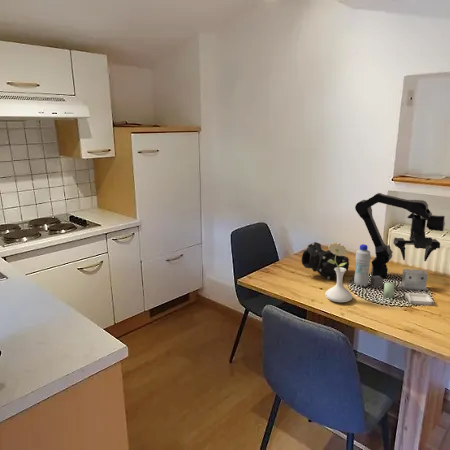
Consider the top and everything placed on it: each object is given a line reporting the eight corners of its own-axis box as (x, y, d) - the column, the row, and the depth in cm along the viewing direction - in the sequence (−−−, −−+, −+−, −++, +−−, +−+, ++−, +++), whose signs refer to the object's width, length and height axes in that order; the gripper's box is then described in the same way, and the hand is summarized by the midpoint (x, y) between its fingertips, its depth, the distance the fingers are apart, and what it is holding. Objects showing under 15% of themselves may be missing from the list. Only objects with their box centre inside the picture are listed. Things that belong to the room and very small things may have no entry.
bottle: (361, 289, 178) (364, 247, 173) (350, 284, 184) (353, 243, 179) (371, 286, 181) (375, 245, 176) (360, 281, 187) (363, 241, 182)
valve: (326, 240, 216) (358, 256, 187) (319, 265, 218) (349, 284, 190) (291, 234, 209) (318, 248, 181) (284, 260, 212) (310, 278, 183)
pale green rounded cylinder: (384, 298, 169) (385, 285, 167) (382, 294, 172) (383, 282, 171) (394, 299, 168) (395, 286, 166) (392, 295, 172) (393, 282, 170)
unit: (402, 289, 177) (404, 273, 175) (399, 284, 182) (401, 268, 180) (427, 291, 175) (429, 274, 173) (423, 286, 180) (425, 269, 178)
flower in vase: (358, 300, 167) (362, 245, 161) (339, 307, 161) (343, 250, 155) (334, 290, 178) (337, 237, 171) (316, 296, 172) (319, 242, 166)
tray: (410, 304, 163) (410, 300, 162) (405, 295, 170) (405, 292, 170) (433, 305, 161) (433, 302, 161) (427, 297, 169) (428, 293, 168)
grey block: (373, 287, 180) (374, 279, 179) (370, 284, 184) (370, 276, 183) (382, 287, 180) (383, 279, 179) (378, 283, 184) (379, 275, 183)
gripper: (400, 232, 172) (397, 265, 176) (446, 233, 168) (441, 267, 172) (394, 225, 182) (391, 257, 186) (437, 227, 179) (434, 259, 183)
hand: (414, 260), depth 182 cm, fingers open, 9 cm apart
